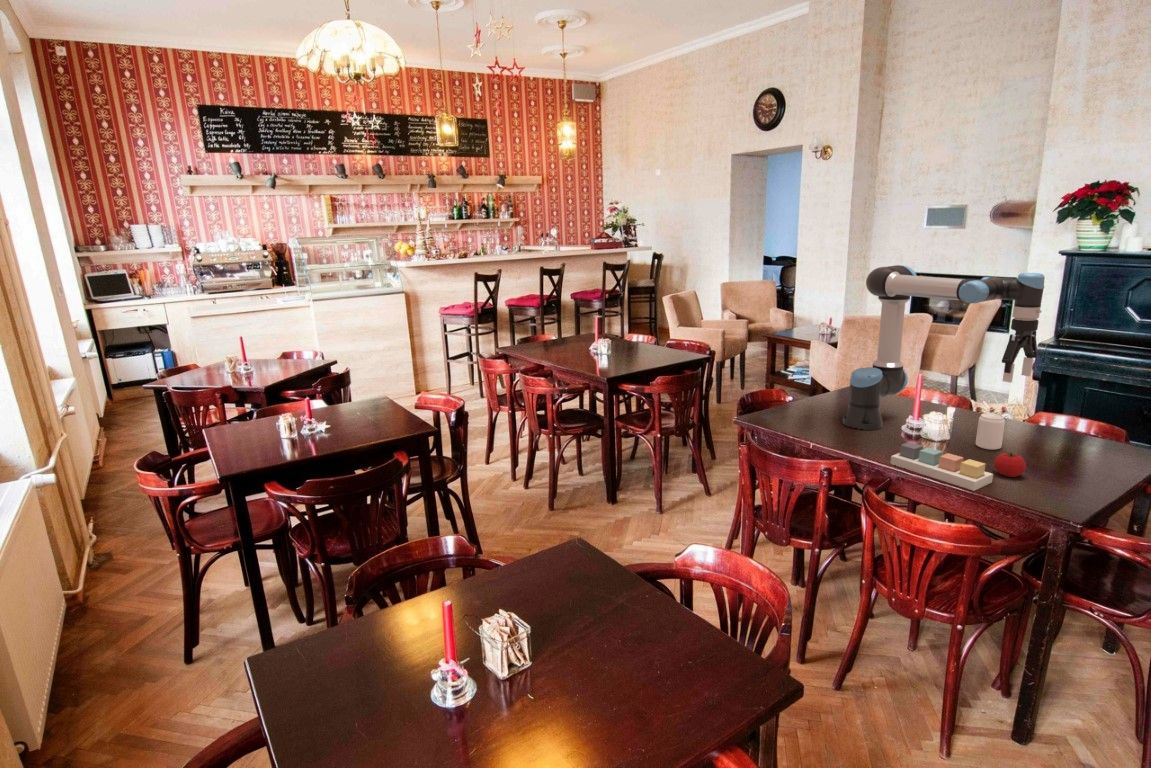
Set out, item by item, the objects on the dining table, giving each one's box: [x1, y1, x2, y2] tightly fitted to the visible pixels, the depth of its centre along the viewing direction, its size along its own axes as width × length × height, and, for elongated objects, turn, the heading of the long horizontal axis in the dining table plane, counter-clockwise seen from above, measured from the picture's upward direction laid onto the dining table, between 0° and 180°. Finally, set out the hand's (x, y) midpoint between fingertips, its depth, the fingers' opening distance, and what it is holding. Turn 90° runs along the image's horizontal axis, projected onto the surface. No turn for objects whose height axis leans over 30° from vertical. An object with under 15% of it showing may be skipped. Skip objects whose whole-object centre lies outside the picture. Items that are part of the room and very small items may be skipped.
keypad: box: [889, 452, 994, 492], centre depth 212 cm, size 28×11×3 cm, turn 32°
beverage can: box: [975, 412, 1006, 451], centre depth 232 cm, size 8×8×12 cm
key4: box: [960, 458, 986, 479], centre depth 203 cm, size 5×5×4 cm
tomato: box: [993, 452, 1027, 478], centre depth 208 cm, size 9×9×8 cm
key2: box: [919, 447, 944, 466], centre depth 214 cm, size 5×5×4 cm
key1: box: [899, 441, 924, 460], centre depth 220 cm, size 5×5×4 cm
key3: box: [939, 452, 964, 472], centre depth 208 cm, size 5×5×4 cm
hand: (1016, 378), depth 221 cm, fingers open, 13 cm apart
